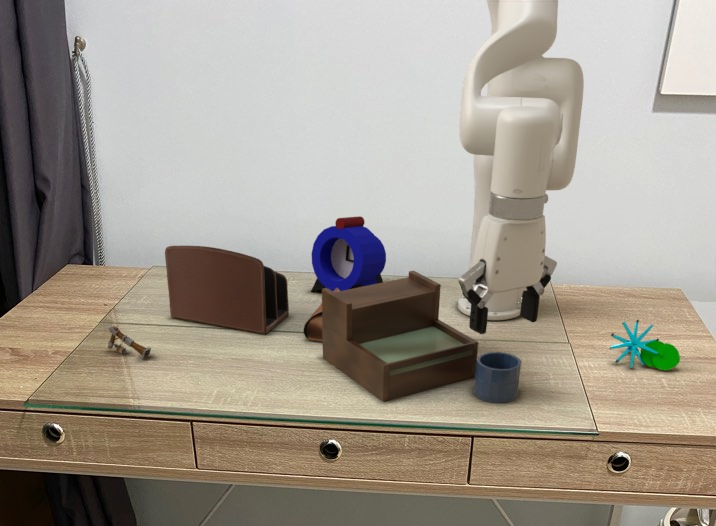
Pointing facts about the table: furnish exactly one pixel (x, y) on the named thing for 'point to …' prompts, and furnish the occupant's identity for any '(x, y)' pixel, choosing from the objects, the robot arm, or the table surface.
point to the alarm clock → (347, 256)
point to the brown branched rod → (128, 341)
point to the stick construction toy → (648, 350)
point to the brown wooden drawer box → (394, 337)
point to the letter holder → (225, 289)
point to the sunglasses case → (315, 325)
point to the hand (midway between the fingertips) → (503, 325)
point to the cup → (497, 377)
